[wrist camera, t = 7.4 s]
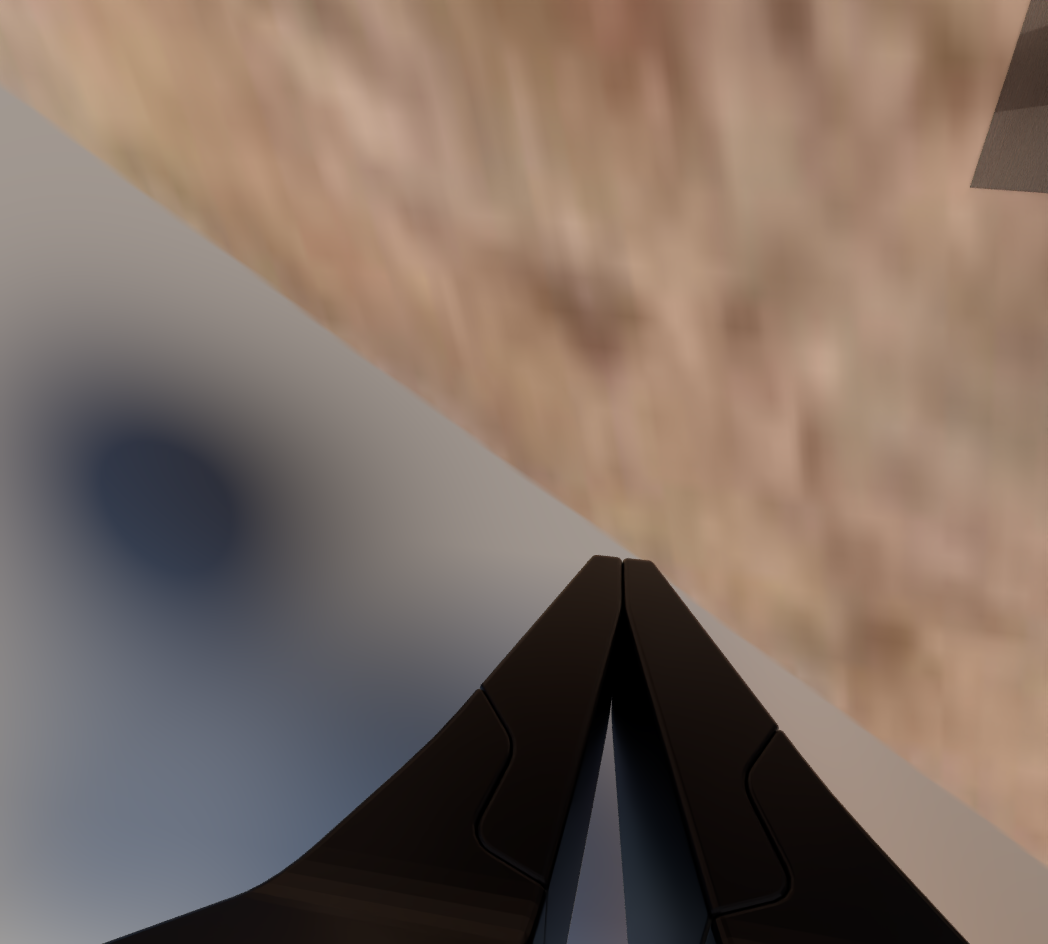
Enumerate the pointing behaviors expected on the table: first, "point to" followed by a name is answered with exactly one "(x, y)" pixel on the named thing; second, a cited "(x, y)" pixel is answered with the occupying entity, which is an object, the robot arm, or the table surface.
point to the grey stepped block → (1021, 115)
